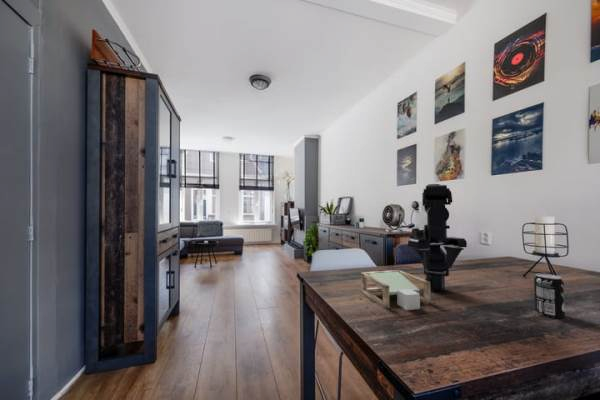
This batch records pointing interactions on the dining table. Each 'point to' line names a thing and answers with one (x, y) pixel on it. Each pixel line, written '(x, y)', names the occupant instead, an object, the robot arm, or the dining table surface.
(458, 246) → the robot arm
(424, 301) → the trapdoor frame
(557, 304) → the beverage can
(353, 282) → the dining table surface
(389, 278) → the trapdoor
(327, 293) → the dining table surface
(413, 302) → the plain light gray cube
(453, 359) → the dining table surface
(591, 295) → the dining table surface
